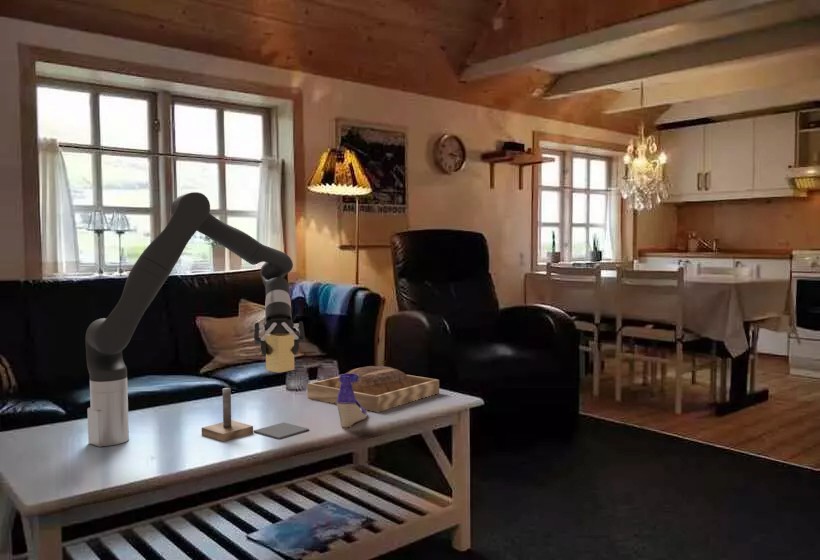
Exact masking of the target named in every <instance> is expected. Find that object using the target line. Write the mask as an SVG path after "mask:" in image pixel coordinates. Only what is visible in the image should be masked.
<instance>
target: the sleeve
mask: <svg viewBox="0 0 820 560" xmlns="http://www.w3.org/2000/svg"><path fill="white" fill-rule="evenodd" d="M265 338H266V356H265V371H269V372H274V373H284V372H289V371H293V370H295V355H294V334H287V333H281V334H280V333H275V334H268V335H265Z"/></svg>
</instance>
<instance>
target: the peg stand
mask: <svg viewBox="0 0 820 560" xmlns="http://www.w3.org/2000/svg"><path fill="white" fill-rule="evenodd" d="M231 391H232V388H231V387H224V388H222V419H223V420H222V422H219V423H214V424H211V425H208V426H204V427H201V435H202V436H205V437H208V438H211V439H214V440H218V441H221V442H224V441H225V442H226V441H228V440H230V441H231V440H233V439H237V438H239V437H240V438H241V437H243V436H247V435H251V434H254V425H251V424H248V423H247V424H246V423H242V422H239V421H236V420H232V392H231Z"/></svg>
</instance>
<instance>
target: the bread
mask: <svg viewBox="0 0 820 560" xmlns="http://www.w3.org/2000/svg"><path fill="white" fill-rule="evenodd" d="M345 374H356V375H358V374H359V376H358V382H357V383H355V382H353V383H351V386H352V389H353V391H354V392H359V393H365V394H370V395H375V396H377V395H380V394H384V393H388V392H392V391H395V390H399V389H403V388H407V387H410V386H412V383H411V380H410V379H409V377H408V376H407V375H408V374H406V373H405V372H403V371H401V370H400V369H398V368H393V367H391V366H384V365H380V366H379V365H378V366H377V365H376V366H375V365H369V366H368V365H367V366H363V367H358V368H353V369H351V370H349V371H347V372H345ZM340 386H341V382H340V381H339V380H338V382H337V383H336V386H335V388H338V389H340Z"/></svg>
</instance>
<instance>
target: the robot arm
mask: <svg viewBox="0 0 820 560" xmlns="http://www.w3.org/2000/svg"><path fill="white" fill-rule="evenodd" d="M170 212H171V215H172V216H171V218H170V220H169V221H168V223H167V225H166V226H165V227H164V229H163V230H161V232H160V233H159V234H158V235H157V236H156V237H155V238H154V239H153V240H152V241H151V242H150V243H149V245H148V246H147V247H146V248H145V249H144V250H143V251H142V253H141V254H140V255H139V257H138V259H137V260H136V262H135V263H134V265H133V266H132V268H131V269H130V271H129V273H128V274H127V278H126V281H125V284H124V287H123V290H122V294H121V297H120V298H119V300H118V302H117V304H116V305H115V307H113V309H112V310H111V312H110V313H109V315H108V316H107V317H106V318H105V317H103V318H99V319H98V318H97V319H96V320H94V321H92V322H91V323H90V324H89V325H88V327H87V329H86V332H85V354H86V355H85V357H86V359H85V360H86V367H87V370H88V374H89V400H90V402H89V403H90V407H88V408H87V409H86V410H87V411H86V412H87V435H88V436H87V437H88V438H87V439H88V444H90V445H93V446H95V447H99V448H100V447H107V446H115V445H121V444H123V443H126V442H127V441H129V440H130V434H129V433H130V431H129V430H130V429H129V428H130V427H129V399H128V397H129V396H128V395H129V393H128V390H129V389H128V367H127V365H126V364H125V361H124V359H123V358H124V356H123V350H124V349H125V348H127V346H129V345H128V344H129V343H130V341H131V339H132V337H133V335H134V333H135V331H136V328H137V326H138V325H139V323H140V321H141V319H142V317H143V316H144V314H145V312H146V310H147V309H148V308H149V307H150V305H151V303H152V302H153V301H154V299H155V297H156V296H157V294H158V293H159V291H160V289H161V288H163V285H164V284H165V283H166V281H167V280H168V278H169V277H170V275H171V273H172V271H173V270H174V268H175V266H176V264H177V263H178V261H179V260H180V258H181V256H182V254H183V252H184V250H185V248H186V246H187V245H188V243H189V241H191V239H192V237H193V236H194V235H195V234H196V233H197V232H198V233H200V234H201V235H204V236H206V237H208V238H210V239H212V240H213V241H214V242H216V243H218V244H220V245H221V246H223V247H224V248H226V249H227V250H229V251H231V253H233V254H235V255H236V256H237V257H239V258H240V259H242V260H244V262H246V263H248V264H250V265H252V266H253V265H254V266H256V265H258V264H260V263H263V262H264V263H263V264H262V266H261V267H260V271H259V273H260V275H259V276H260V278H261V280H262V283H263V285H264V288H265V302H264V303H265V305H264V310H265V315H264V316H265V323H264V324H260V323H259V322H255V323H254V335H253V339H254V340H253V341H254V342H253V343H254V344H255V345H260V354H261V355H263V357H266V338H265V335H268V334H275V333H280V334H281V333H287V334H294V356H295V355H297V354H298V353H299V352H300V343H305V337H306V336H305V327H304V322H303V321H302V320H300V321H299V322H298V323H294V322H293V318H292V316H293V315H292V304H291V302H292V301H291V298H290V285H289V282H288V280H287V279H286V278H284V277H285V276H286V275H288V274H289V273H290V272H291V271H292V270H293V267H294V264H293V260H292V259H291V257H290V255H288V254H287V253H285V252H284V251H281V250H278V249H276V248H273V247H270V246H267V245H264V244H263V243H261V242H259V241H258V240H257V239H255V238H254V237H252V236H251V235H250V234H248V233H246V232H244V231H242V230H240V229H239V228H237V227H233V226H232V225H230V224H227V223H226V222H223V221H222V220H220V219H218V218H217V217H216V216H214V215H213V214H212V213H211V203H210V200H209V199H208V197H207V196H206V195H205V194H203V193H202V192H199V191H189V192H185V193H183V194H181V195H179V196H177V197H176V198H175V199H174V200H173V201H172V203H171V207H170ZM294 329H295V330H296V331H297V332H298V334H299V335H297V334H296V333H295V331H294ZM263 330H264V331H265V333H264V335H262V336H261V337H260V334H261V333H262V331H263Z"/></svg>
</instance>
